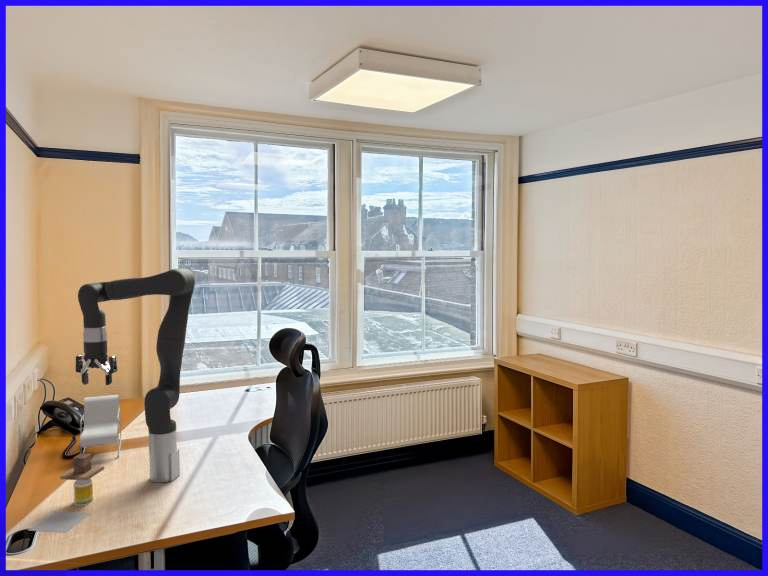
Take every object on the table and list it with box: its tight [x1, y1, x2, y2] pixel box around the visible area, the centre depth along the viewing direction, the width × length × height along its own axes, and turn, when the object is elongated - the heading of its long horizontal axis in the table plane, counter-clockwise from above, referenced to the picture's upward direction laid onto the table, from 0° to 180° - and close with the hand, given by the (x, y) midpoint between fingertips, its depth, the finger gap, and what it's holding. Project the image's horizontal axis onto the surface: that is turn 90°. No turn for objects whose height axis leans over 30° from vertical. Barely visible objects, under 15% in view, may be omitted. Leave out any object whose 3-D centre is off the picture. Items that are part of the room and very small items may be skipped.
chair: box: [79, 394, 122, 458], centre depth 234 cm, size 13×25×20 cm, turn 22°
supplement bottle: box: [73, 478, 94, 507], centre depth 188 cm, size 5×5×10 cm
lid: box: [59, 453, 105, 481], centre depth 187 cm, size 9×9×6 cm
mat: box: [27, 510, 92, 534], centre depth 175 cm, size 12×12×1 cm
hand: (97, 384), depth 208 cm, fingers open, 8 cm apart
